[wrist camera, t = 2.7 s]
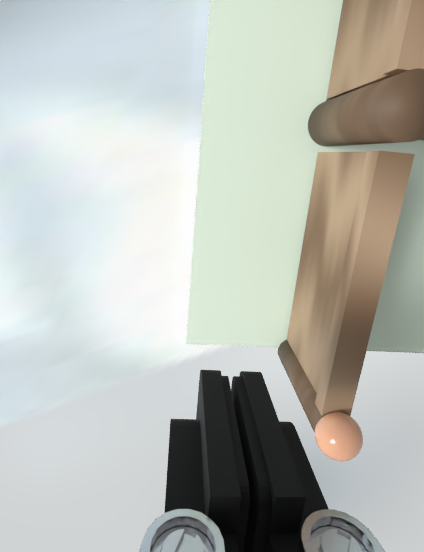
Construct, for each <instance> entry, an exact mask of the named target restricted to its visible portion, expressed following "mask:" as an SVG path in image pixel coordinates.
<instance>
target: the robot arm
mask: <svg viewBox="0 0 424 552" xmlns="http://www.w3.org/2000/svg"><path fill="white" fill-rule="evenodd" d="M139 552H385V551H384V549H383V548H382V546H381V545H380V543H379V541H378V540H377V539H376V537H375V536H374V535H373V534H372V532H371V531H370V530H369V529H368V528H367V527H366V526H365V525H363V524H362V523H361V522H360V521H359V520H357V519H355V518H354V517H352V516H350V515H348V514H346V513H344V512H340V511H337V510H329V509H328V507H327V504H326V502H325V499H324V497H323V495H322V492H321V490H320V487H319V485H318V482H317V480H316V478H315V475H314V473H313V471H312V468H311V465H310V463H309V461H308V458H307V456H306V453H305V451H304V448H303V446H302V444H301V441H300V439H299V436H298V434H297V431H296V429H295V427H294V425H293V424H292V423H291V422H279V420H278V418H277V415H276V412H275V409H274V406H273V404H272V401H271V398H270V395H269V393H268V390H267V387H266V384H265V381H264V379H263V376H262V373H261V372H244V371H241V372H240V376H239V377H236V376H234V377H233V380H232V388H231V389H230V384H229V379H228V376H221V371H216V370H201V371H200V381H199V392H198V405H197V418H196V420H188V419H171V423H170V439H169V454H168V470H167V485H166V501H165V513H164V514H163V515H161V516H160V517H158V518H157V519H155V521H154V522H153V523H152V524H151V525H150V526H149V527H148V529H147V531H146V533H145V536H144V538H143V540H142V543H141V548H140V551H139Z"/></svg>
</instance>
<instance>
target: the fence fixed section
mask: <svg viewBox="0 0 424 552" xmlns="http://www.w3.org/2000/svg"><path fill="white" fill-rule="evenodd" d="M327 99H330V100H328V101H325V102H323V103H321V104H319V105H318V106H317V107H316V108H315V109H314V110H313V111H312V113H311V115H310V117H309V120H308V132H309V135H310V137H311V138H312V140H313V141H314V142H315V143H317V144H318V145H321V146H345V145H363V144H382V143H400V142H413V141H417V140H419V139H422V138H424V0H343V4H342V10H341V16H340V22H339V28H338V34H337V40H336V46H335V52H334V58H333V64H332V70H331V76H330V82H329V88H328V94H327Z"/></svg>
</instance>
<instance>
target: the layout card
mask: <svg viewBox="0 0 424 552" xmlns="http://www.w3.org/2000/svg"><path fill="white" fill-rule="evenodd" d="M342 4H343V0H210V4H209V19H208V33H207V48H206V62H205V77H204V92H203V106H202V121H201V135H200V150H199V164H198V179H197V193H196V208H195V222H194V237H193V251H192V266H191V280H190V295H189V309H188V324H187V338H186V344H205V345H231V346H257V347H279V346H280V344H281V343H282V342H283V341H285V340H286V339H287V334H288V328H289V322H290V316H291V310H292V304H293V298H294V292H295V286H296V280H297V274H298V268H299V262H300V256H301V250H302V244H303V238H304V232H305V226H306V220H307V214H308V208H309V202H310V196H311V190H312V184H313V178H314V172H315V166H316V160H317V154H318V152H361V151H389V152H400V153H410V154H415V155H414V159H413V163H412V167H411V171H410V176H409V180H408V184H407V188H406V192H405V196H404V200H403V204H402V208H401V212H400V216H399V220H398V224H397V228H396V232H395V236H394V240H393V244H392V248H391V253H390V257H389V261H388V265H387V269H386V273H385V277H384V281H383V285H382V289H381V293H380V297H379V301H378V305H377V309H376V313H375V317H374V321H373V325H372V330H371V334H370V338H369V342H368V346H367V350H366V351H387V352H415V353H424V138H422V139H419V140H417V141H413V142H400V143H382V144H363V145H345V146H321V145H318V144H317V143H315V142H314V141H313V140H312V138H311V137H310V135H309V132H308V120H309V117H310V115H311V113H312V111H313V110H314V109H315V108H316V107H317V106H318V105H319V104H321V103H323V102H325V101H328V100H330V99H327V94H328V88H329V82H330V76H331V70H332V64H333V58H334V52H335V46H336V40H337V34H338V28H339V22H340V16H341V10H342Z"/></svg>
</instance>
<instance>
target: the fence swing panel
mask: <svg viewBox="0 0 424 552" xmlns="http://www.w3.org/2000/svg"><path fill="white" fill-rule="evenodd" d="M414 155H415V154H410V153H400V152H389V151H361V152H318V154H317V160H316V166H315V172H314V178H313V184H312V190H311V196H310V202H309V208H308V214H307V220H306V226H305V232H304V238H303V244H302V250H301V256H300V262H299V268H298V274H297V280H296V286H295V292H294V298H293V304H292V310H291V316H290V322H289V328H288V334H287V339H286V340H285V341H283V342H282V343H281V344H280V346H279V348H278V355H279V357H280V360H281V362H282V364H283V366H284V368H285V370H286V373H287V375H288V377H289V379H290V381H291V383H292V385H293V387H294V390H295V392H296V394H297V396H298V398H299V400H300V402H301V404H302V407H303V409H304V411H305V413H306V415H307V417H308V420H309V422H310V424H311V426H312V428H313V430H314V432H315V438H316V442H317V445H318V447H319V448H320V450H321V451H322V452H323V453H324V454H325V455H326V456H328V457H329V458H331V459H333V460H336V461H348V460H350V459H352V458H354V457H355V456H356V455H357V454H358V453H359V452H360V450H361V448H362V444H363V436H362V432H361V429H360V427H359V425H358V424H357V422H356V421H355V420H354V419H353V418H352V417H350V415H351V410H352V406H353V402H354V398H355V394H356V390H357V386H358V382H359V378H360V374H361V370H362V366H363V361H364V358H365V354H366V350H367V346H368V342H369V338H370V334H371V330H372V325H373V321H374V317H375V313H376V309H377V305H378V301H379V297H380V293H381V289H382V285H383V281H384V277H385V273H386V269H387V265H388V261H389V257H390V253H391V248H392V244H393V240H394V236H395V232H396V228H397V224H398V220H399V216H400V212H401V208H402V204H403V200H404V196H405V192H406V188H407V184H408V180H409V176H410V171H411V167H412V163H413V159H414Z"/></svg>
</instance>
